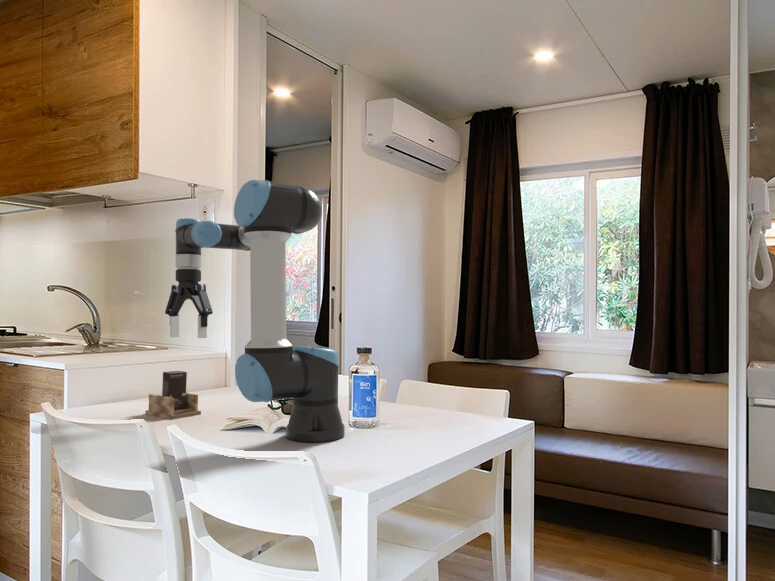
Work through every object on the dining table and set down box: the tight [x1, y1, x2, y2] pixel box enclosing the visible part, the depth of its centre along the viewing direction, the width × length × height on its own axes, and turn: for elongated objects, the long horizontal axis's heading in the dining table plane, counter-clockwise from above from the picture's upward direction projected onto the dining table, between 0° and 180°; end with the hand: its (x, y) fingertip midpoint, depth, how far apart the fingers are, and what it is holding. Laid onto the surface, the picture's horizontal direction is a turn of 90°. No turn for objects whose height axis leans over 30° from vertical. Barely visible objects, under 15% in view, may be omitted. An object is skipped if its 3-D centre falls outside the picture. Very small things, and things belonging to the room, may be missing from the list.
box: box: [161, 370, 188, 411], centre depth 184 cm, size 6×4×12 cm
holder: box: [145, 392, 202, 420], centre depth 184 cm, size 14×10×6 cm
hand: (188, 337), depth 184 cm, fingers open, 13 cm apart
